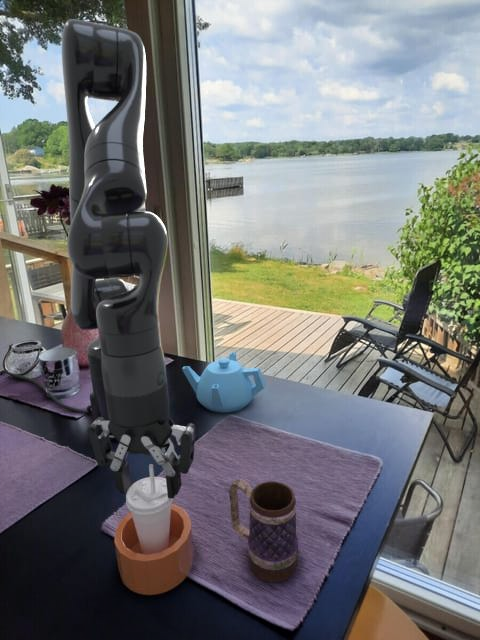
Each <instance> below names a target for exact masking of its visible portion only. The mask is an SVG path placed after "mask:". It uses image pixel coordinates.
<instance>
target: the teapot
mask: <svg viewBox="0 0 480 640" xmlns="http://www.w3.org/2000/svg"><path fill="white" fill-rule="evenodd" d="M181 371H182V372H183V374H184V375H185V378H186V380H187V381H188V383H189V384H190V386H191V388H192V390H193V391H194V393H195V395H196V399H197V401H198V403H199V404H200V405H202V407H204V408H205V409H207V410H208V411H211V412H216V413H233V412H238V411H240V410H242V409H244V408H245V407H247V406H248V405H249V404H250V402H251V401H252V400H253V398H254V397H255V396H256V395H257V394H259V393H260V392H262V391H263V390H265V388H266V382H265V379H264V377H263V374H262V371H261V369H260V367H251V368H249V367H248V368H245V367H244V366H243V365H242V364H241V363H240V362H239V361H237V352H235V351H231V352H230V353H229V357H228V358H227V357H222V358H221V357H220V358H219V359H218V360H214V361H212V362H210V363H209V364H208V365H207V366H206V367H205V368H204V370H203V371H202V373H201V375H198V374H197V372H195V371H194V370H193V369H192V368H191V366H190V365H188V366H187V365H185V366H183V367H181ZM251 376H252V377H253V380H254V383H253V380H252V378H251Z"/></svg>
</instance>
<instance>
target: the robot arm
mask: <svg viewBox="0 0 480 640" xmlns="http://www.w3.org/2000/svg"><path fill="white" fill-rule="evenodd" d="M61 33H62V34H61V65H62V66H61V67H62V76H63V87H64V98H65V109H66V119H67V121H66V122H67V132H68V134H67V135H68V161H69V163H68V164H69V165H68V172H69V173H68V174H69V175H68V178H69V179H68V183H69V184H68V191H69V192H68V193H69V196H68V197H69V216H70V226H69V229H68V235H67V256H68V259H69V262H70V263H71V278H70V279H71V280H70V310H71V314H72V318H73V321H74V323H75V325H76V326H77V327H78V328H79V329H80V330H84V331H91V330H97V331H98V337H97V338H95V339H93V340H92V341H91V342H90V343H89V344H88V346H87V347H86V354H87V361H88V368H89V374H90V380H91V388H92V392H91V393H89V400H90V404H89V405H88V406H87V407H86V410H84V409H79V408H76V407H72V406H69V405H67V404H65V403H63V402H61V401H60V400H59V399H57V398H56V397H55V396H54V395H53V394H52V393H51V392H50V393H51V394H50V393H47V392H46V390H45V388H46V387H45V386H44V385H43V384H42V383H40V382H39V381H37V380H35V379H33V378H30V377H28V376H24V375H21V374H16V373H14V374H8V373H7V372H6V371H5V370H6V369H2V370H1V371H0V375H3V374H6V375H8V376H11V377H13V378H17V379H21V380H24V381H27V382H30V383H32V384H34V385H36V386H37V387H39V388H40V389H41V390H42V391H44V393H46V395H47V396H48V397H49V398H50V399H51V400H52V401H54V402H55V403H56V404H57V405H58V406H59V407H60V408H62V409H66V410H68V411H70V412H74V413H78V414H83V415H84V414H86V415H89V414H91V415H92V423H91V424H90V426H89V427H87V433H88V437H89V441H90V444H91V447H92V451H93V454H94V457H95V460H96V461H95V462H96V464H97V465H98V466H99V467H105V466H107V467H109V468H110V470H111V471H112V474H113V479H114V486H115V487H116V489H117V490H118V491H119V494H122V495H123V494H124V495H126V493H127V491H128V489H129V488H130V486H131V485H132V479H131V472H130V471H131V470H130V463H129V461H126V460H127V458H128V456H129V454H131V455H138V454H142V455H146V456H152V458H153V460H154V461H155V463H156V464H157V465H160V466H161V468H162V469H163V471H164V472H165V479H166V484H167V494H168V498H172V499H173V500H174V499H175V498H176V496H178V494H179V492H180V490H181V487H182V486H183V484H182V474H184V475H187V474H188V473H189V471H190V469H191V466H192V465H193V462H194V459H195V444H196V431H197V430H196V429H197V427H196V424H194V423H192V422H190V423H187V424H186V426H183V425H178V424H175V421H174V420H172V418H171V414H170V413H171V411H170V409H171V408H170V399H169V398H170V396H169V387H168V377H167V366H166V358H165V353H164V349H163V345H162V335H161V326H160V313H159V311H160V310H159V309H160V308H159V307H160V306H159V305H160V303H159V299H160V292H161V291H160V290H161V284H162V278H163V273H164V269H165V265H166V259H167V255H168V247H169V237H168V236H169V235H168V231H167V229H166V226H165V224H164V223H163V221H162V220H161V218H160V217H159V216H158V215H156V214H155V213H153V212H151V211H139V210H141V209H142V208H143V206H144V205H145V202H146V200H147V182H146V173H145V161H144V151H143V150H144V147H143V144H144V143H143V142H144V141H143V140H144V139H143V138H144V126H145V115H146V113H145V111H146V87H147V60H146V59H147V58H146V51H145V46H144V43H143V41H142V39H141V37H140V35H139V34H137V33H136V32H134V31H132V30H131V29H126V28H123V27H118V26H112V25H107V24H102V23H97V22H93V21H87V20H82V19H77V18H76V19H75V18H70V19H68V20H67V21H65V23H64V26H63V28H62V32H61ZM92 98H93V99H95V100H96V99H97V100H103V101H108V102H109V101H110V102H117V103H116V104H115V106H113V108H111V110H110V111H108V113H106V114H105V116H103V117H102V118H101V119H100V120H99V121H98V122H97V123H96V124H95V123H94V120H93V117H92V114H91V110H90V107H89V103H88V99H92ZM129 277H130V278H133V277H138V278H139V279H138V281H137V283H136V285H135V286H134V287H133V288H131V289H129V287H128V285H127V283H126V282H125V281H124V280H123V279H122V278H129ZM171 436H173V437H174V438H175V440H176V443H177V445H178V446H179V447H180V450H179V455H178V454H177V452H176V451H175V445H174V443H173V442H172V440H171ZM112 441H117V442H118V446H117V447H116V451H114V449H113V445H112Z"/></svg>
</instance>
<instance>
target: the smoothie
mask: <svg viewBox="0 0 480 640" xmlns="http://www.w3.org/2000/svg"><path fill="white" fill-rule="evenodd" d="M148 472H149V476H148V477H144V478H141V479H138V480H136V481H135V482H134V483H131V486H130V488H129V489H128V491H127V493H126V494H125V499H126V500H125V504H126V507H127V508H128V510H129V511H130V512H131V514H132V517H133V521H134V524H135V528H136V531H137V535H138V538H139V542H140V545H141V549H142V552H143V554H146V555H149V554H154V553H159V552H162V551H164V550H166V549H168V545H169V530H170V515H171V503H172V502H173V500H174V499H172V498H168V494H167V484H166V478H164V477H161V476H155V470H154V464H153V463H150V464H149V465H148Z"/></svg>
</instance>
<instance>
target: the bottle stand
mask: <svg viewBox="0 0 480 640" xmlns="http://www.w3.org/2000/svg"><path fill="white" fill-rule="evenodd" d="M191 522H192V521H191V518H190V516H189V514H188V513H187V511H185V509H184V508H183V507H180V506H178V505H176V504H174V503H172V502H171V515H170V530H169V545H168V549H166V550H164V551H162V552H159V553H154V554H149V555H146V554H143V552H142V549H141V545H140V542H139V538H138V535H137V531H136V528H135V524H134V521H133V517H132V514H131V511H130V512H128V513H127V514H126V515H124V517H122V519H121V520H120V521H119V522H118V525H117V527H116V528H115V530H114V539H113V541H114V549H115V556H116V562H117V566H118V567H117V568H118V572H119V576H120V579H121V581H122V583H123V585H125V586H126V588H128V589H129V590H130V591H132V592H133V593H136V594H138V595H145V596H155V595H161V594H164V593H166V592H168V591H169V592H170V591H171V590H173V589H175V588H177V586H178V585H180V584H181V583H182V582H183V581H185V579H187V577H188V575H189V574H190V572H191V570H192V568H193V564H194V544H193V543H194V542H193V531H192V524H191Z"/></svg>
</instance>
